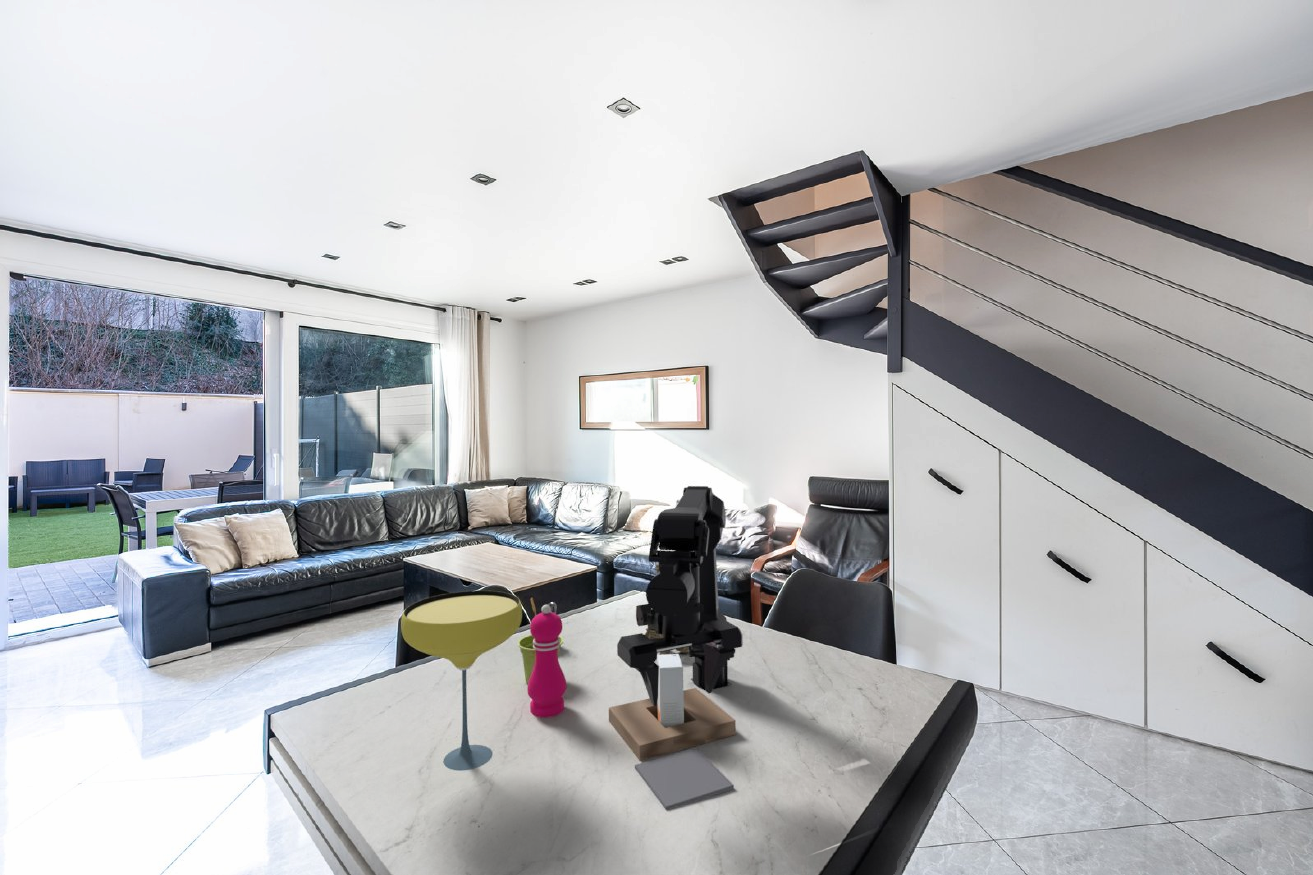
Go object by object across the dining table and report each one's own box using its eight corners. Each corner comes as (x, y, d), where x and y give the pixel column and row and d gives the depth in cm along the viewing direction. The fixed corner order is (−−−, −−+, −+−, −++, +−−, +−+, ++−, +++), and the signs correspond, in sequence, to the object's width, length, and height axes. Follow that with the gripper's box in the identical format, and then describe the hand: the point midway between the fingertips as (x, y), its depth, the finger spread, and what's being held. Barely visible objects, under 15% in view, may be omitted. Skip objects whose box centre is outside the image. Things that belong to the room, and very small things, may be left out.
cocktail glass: (455, 814, 78) (453, 632, 78) (378, 774, 87) (376, 612, 87) (547, 751, 93) (545, 599, 93) (472, 723, 103) (470, 585, 102)
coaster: (696, 751, 93) (696, 747, 93) (733, 789, 83) (733, 784, 83) (634, 768, 88) (634, 764, 88) (665, 811, 78) (665, 806, 78)
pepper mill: (558, 722, 103) (557, 611, 102) (521, 718, 104) (519, 609, 104) (572, 703, 110) (570, 600, 110) (537, 700, 111) (535, 598, 111)
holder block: (695, 700, 110) (695, 687, 110) (735, 734, 97) (735, 720, 97) (608, 721, 102) (608, 707, 102) (639, 761, 90) (639, 745, 90)
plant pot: (568, 673, 124) (568, 633, 124) (556, 692, 114) (556, 649, 114) (526, 672, 125) (526, 632, 125) (511, 691, 115) (511, 648, 115)
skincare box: (656, 720, 103) (656, 654, 103) (680, 718, 103) (679, 653, 103) (660, 737, 97) (659, 667, 97) (684, 736, 97) (684, 666, 97)
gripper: (707, 576, 97) (708, 667, 97) (603, 590, 89) (605, 689, 89) (744, 592, 87) (745, 694, 87) (631, 609, 79) (632, 721, 79)
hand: (681, 698), depth 86 cm, fingers open, 9 cm apart
